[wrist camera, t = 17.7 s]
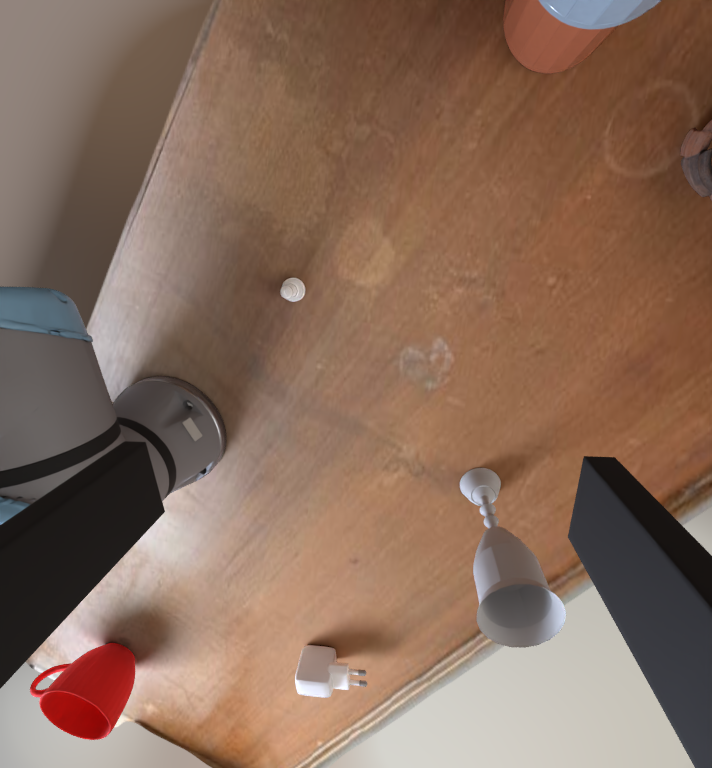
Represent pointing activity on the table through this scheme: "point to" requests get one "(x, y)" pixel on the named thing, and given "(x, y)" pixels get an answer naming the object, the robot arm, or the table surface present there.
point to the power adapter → (323, 672)
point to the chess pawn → (293, 289)
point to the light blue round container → (597, 11)
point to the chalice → (508, 576)
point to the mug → (547, 38)
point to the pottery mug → (698, 160)
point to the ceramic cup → (89, 691)
